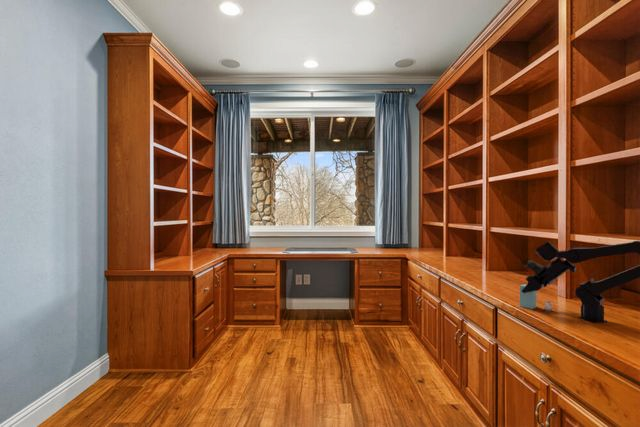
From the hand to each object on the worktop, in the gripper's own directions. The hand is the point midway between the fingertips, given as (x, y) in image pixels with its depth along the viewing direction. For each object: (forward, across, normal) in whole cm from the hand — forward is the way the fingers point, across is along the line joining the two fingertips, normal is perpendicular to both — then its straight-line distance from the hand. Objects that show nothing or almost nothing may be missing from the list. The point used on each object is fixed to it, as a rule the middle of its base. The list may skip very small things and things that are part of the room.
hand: (524, 291), depth 144 cm
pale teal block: (+4, 0, +6) cm, 7 cm away
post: (-2, 0, +11) cm, 11 cm away
